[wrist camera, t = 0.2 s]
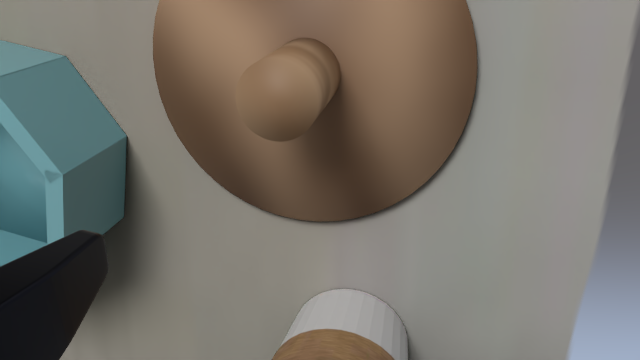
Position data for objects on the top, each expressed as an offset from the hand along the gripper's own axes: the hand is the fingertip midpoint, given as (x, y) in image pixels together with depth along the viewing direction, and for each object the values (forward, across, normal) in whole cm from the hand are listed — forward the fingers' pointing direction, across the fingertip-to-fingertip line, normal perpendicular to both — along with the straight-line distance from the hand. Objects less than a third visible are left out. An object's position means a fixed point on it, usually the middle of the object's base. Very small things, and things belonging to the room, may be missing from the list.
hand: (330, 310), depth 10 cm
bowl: (+13, +18, +9) cm, 25 cm away
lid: (+15, +4, +3) cm, 16 cm away
